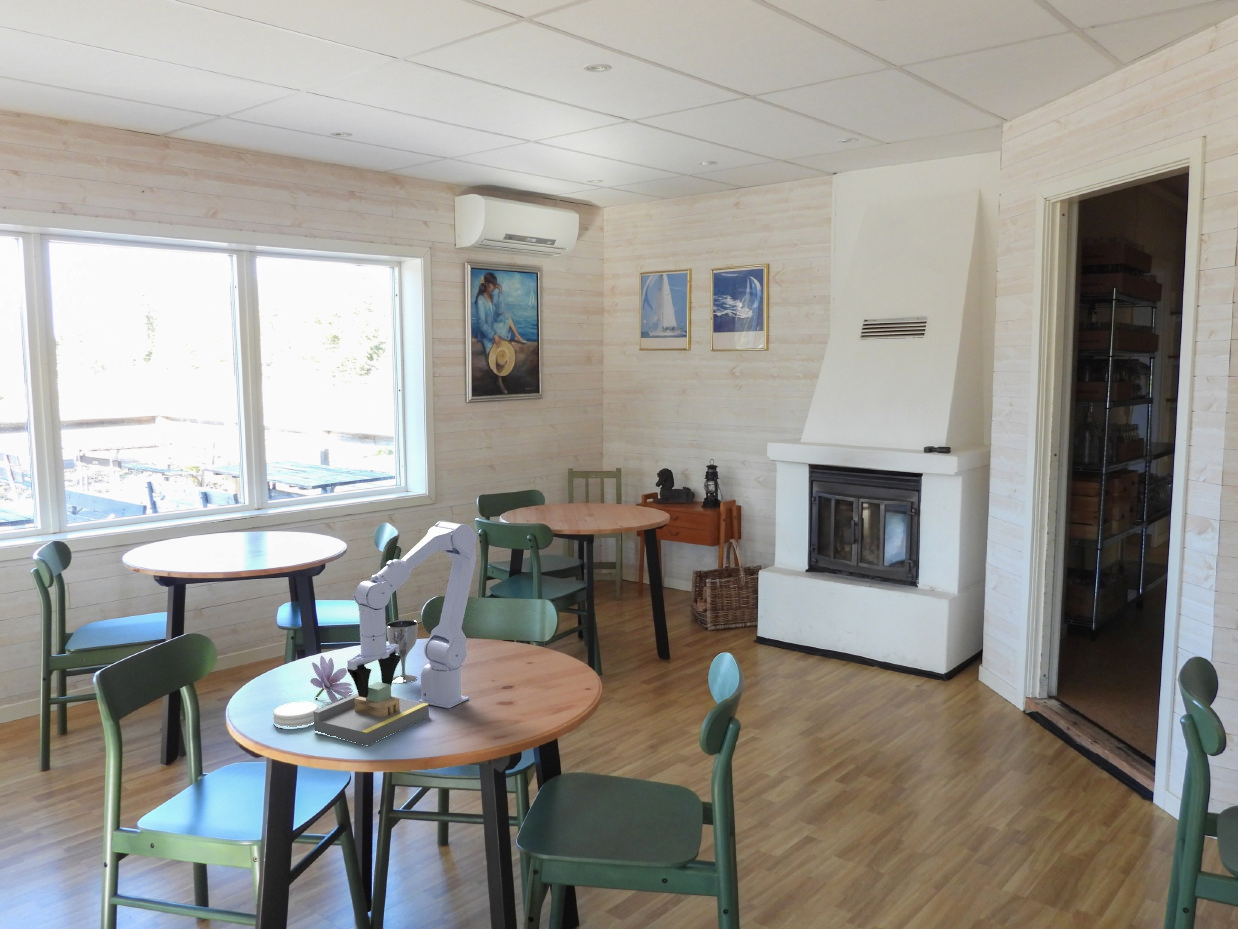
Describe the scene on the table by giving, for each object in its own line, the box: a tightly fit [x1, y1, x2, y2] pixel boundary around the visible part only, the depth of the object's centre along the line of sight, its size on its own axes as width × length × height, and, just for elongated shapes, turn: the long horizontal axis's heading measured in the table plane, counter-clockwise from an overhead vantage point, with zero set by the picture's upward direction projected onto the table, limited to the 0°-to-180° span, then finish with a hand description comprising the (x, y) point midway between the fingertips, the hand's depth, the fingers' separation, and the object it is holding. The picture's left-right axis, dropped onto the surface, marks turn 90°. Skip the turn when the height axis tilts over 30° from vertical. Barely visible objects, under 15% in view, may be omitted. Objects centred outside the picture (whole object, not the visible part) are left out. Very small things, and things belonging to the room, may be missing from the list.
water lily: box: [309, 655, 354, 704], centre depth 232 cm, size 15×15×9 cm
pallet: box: [354, 695, 400, 718], centre depth 215 cm, size 9×5×3 cm, turn 61°
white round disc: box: [272, 701, 320, 727], centre depth 217 cm, size 10×10×4 cm
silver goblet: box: [386, 619, 419, 684], centre depth 246 cm, size 8×8×15 cm
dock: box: [313, 692, 430, 746], centre depth 215 cm, size 16×20×5 cm
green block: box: [366, 681, 392, 703], centre depth 215 cm, size 4×4×3 cm
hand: (375, 691), depth 215 cm, fingers open, 7 cm apart
